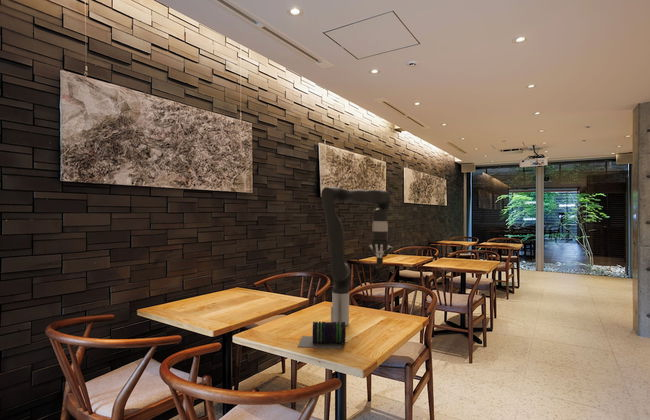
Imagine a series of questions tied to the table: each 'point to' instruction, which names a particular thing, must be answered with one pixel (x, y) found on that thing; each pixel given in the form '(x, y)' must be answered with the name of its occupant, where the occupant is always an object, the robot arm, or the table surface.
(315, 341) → the dark ribbed cylinder
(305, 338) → the mat
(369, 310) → the table surface
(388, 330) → the table surface
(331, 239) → the robot arm
